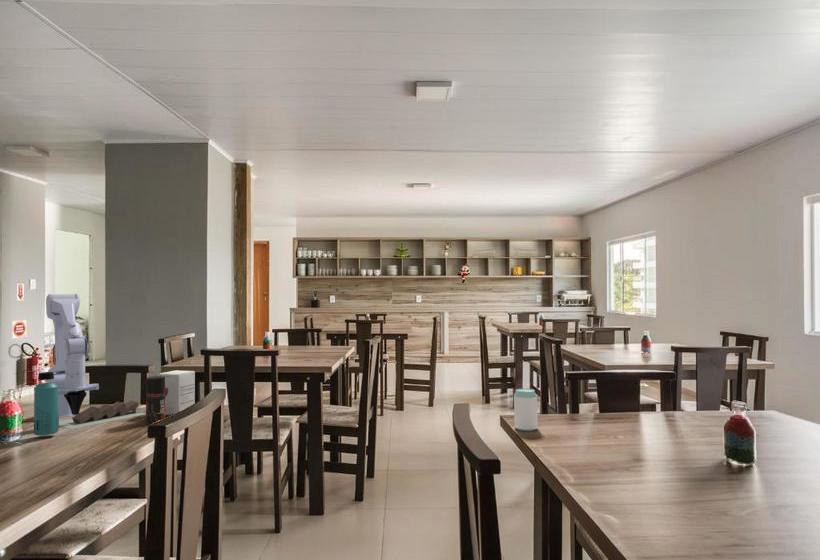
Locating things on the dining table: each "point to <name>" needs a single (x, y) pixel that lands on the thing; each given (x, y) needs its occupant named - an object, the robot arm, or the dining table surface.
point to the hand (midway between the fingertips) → (75, 414)
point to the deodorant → (155, 398)
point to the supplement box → (178, 390)
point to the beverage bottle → (46, 406)
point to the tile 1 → (86, 415)
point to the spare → (140, 409)
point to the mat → (73, 425)
